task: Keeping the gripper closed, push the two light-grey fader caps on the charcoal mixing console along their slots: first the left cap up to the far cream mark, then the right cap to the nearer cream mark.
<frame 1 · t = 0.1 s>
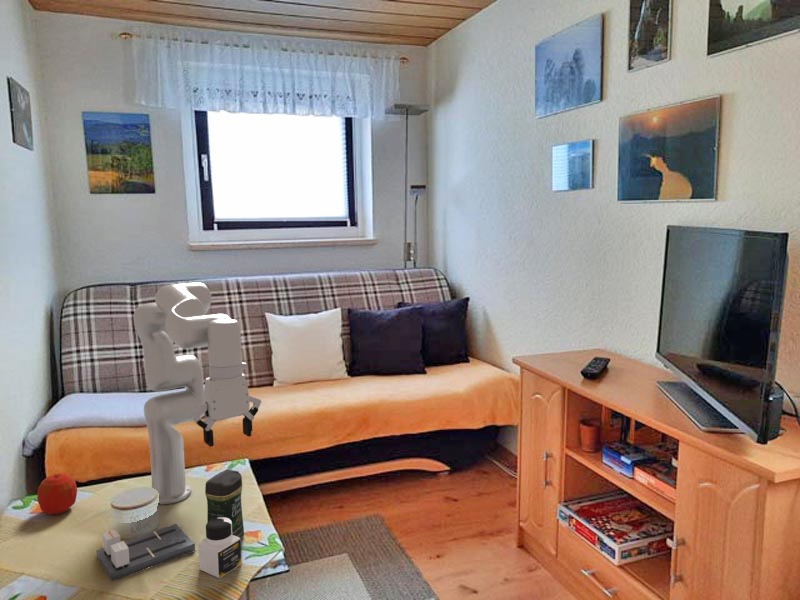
hand: (228, 439, 145), 31 cm above the table, tool pointing down, fingers open, 9 cm apart
fader B: (119, 554, 144), point 4 cm above the table, slide at 0.0 cm
apple: (58, 511, 173), on the table
fader A: (111, 542, 149), point 4 cm above the table, slide at 0.0 cm
coffee jar: (226, 542, 157), on the table
medicine bottle: (220, 568, 146), on the table
console: (146, 554, 151), on the table
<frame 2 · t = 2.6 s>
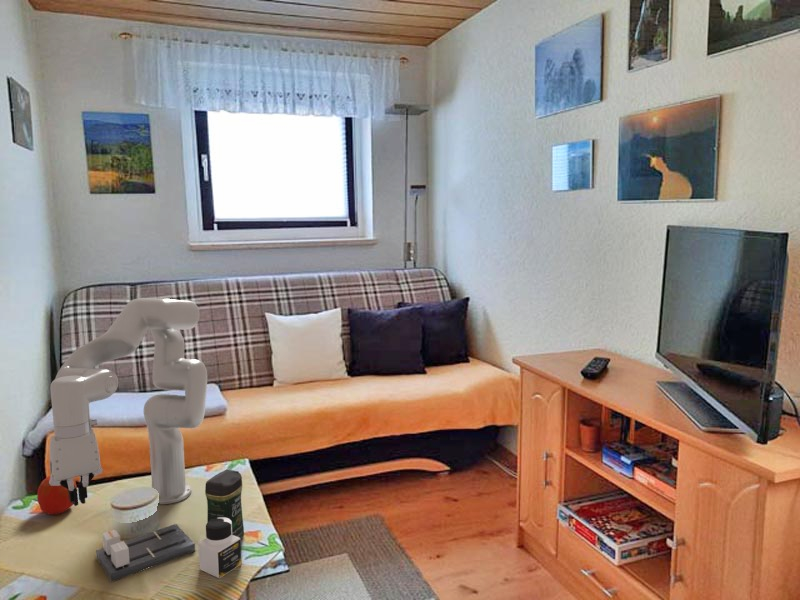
hand: (78, 502, 143), 17 cm above the table, tool pointing down, fingers closed
nothing on the table moved.
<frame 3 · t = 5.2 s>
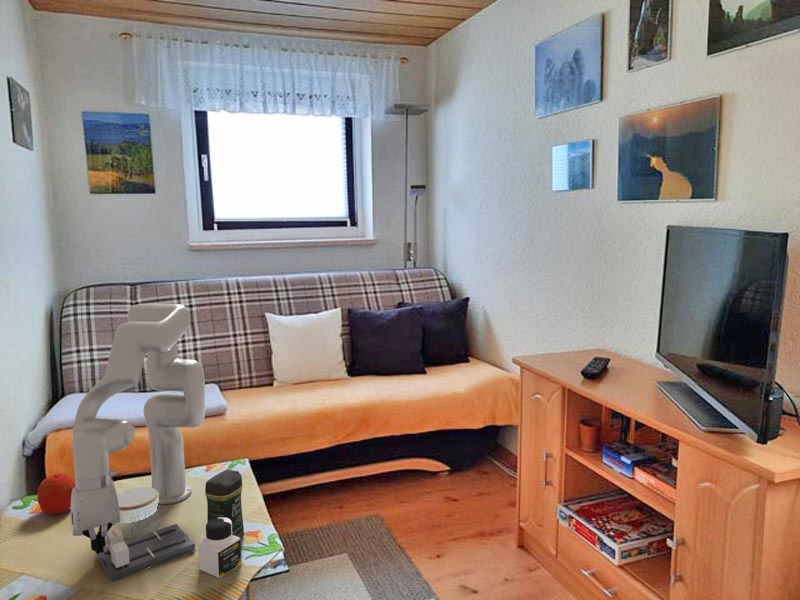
hand: (98, 550, 147), 3 cm above the table, tool pointing down, fingers closed
fader A: (115, 540, 149), point 4 cm above the table, slide at 0.8 cm, touching gripper
everything else where it was.
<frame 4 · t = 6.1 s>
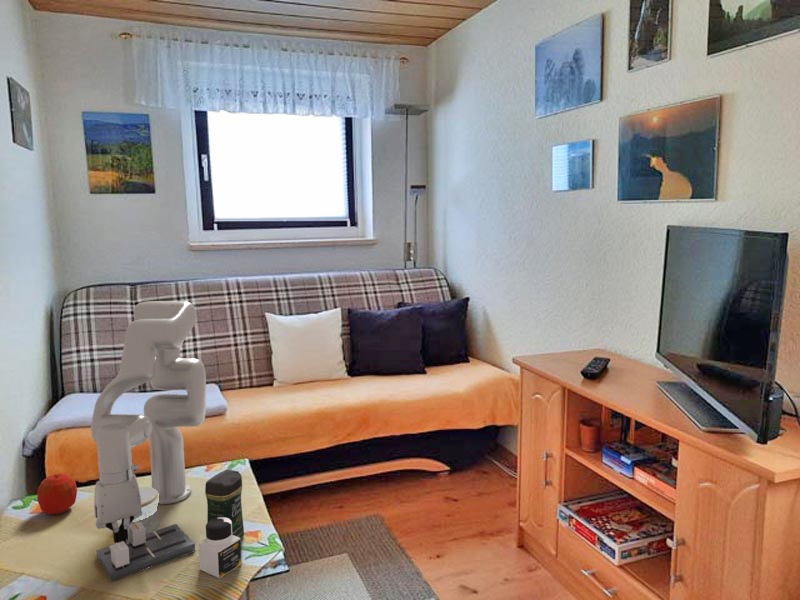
hand: (121, 543, 151), 3 cm above the table, tool pointing down, fingers closed
fader A: (136, 533, 153), point 4 cm above the table, slide at 6.0 cm, touching gripper
everything else where it was.
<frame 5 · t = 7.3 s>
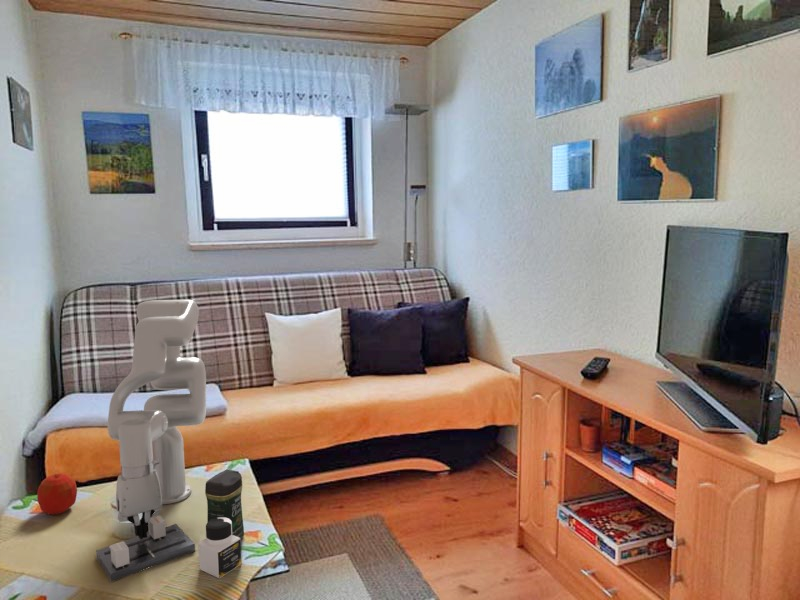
hand: (142, 536, 154), 3 cm above the table, tool pointing down, fingers closed
fader A: (156, 527, 156), point 4 cm above the table, slide at 11.1 cm, touching gripper
everything else where it was.
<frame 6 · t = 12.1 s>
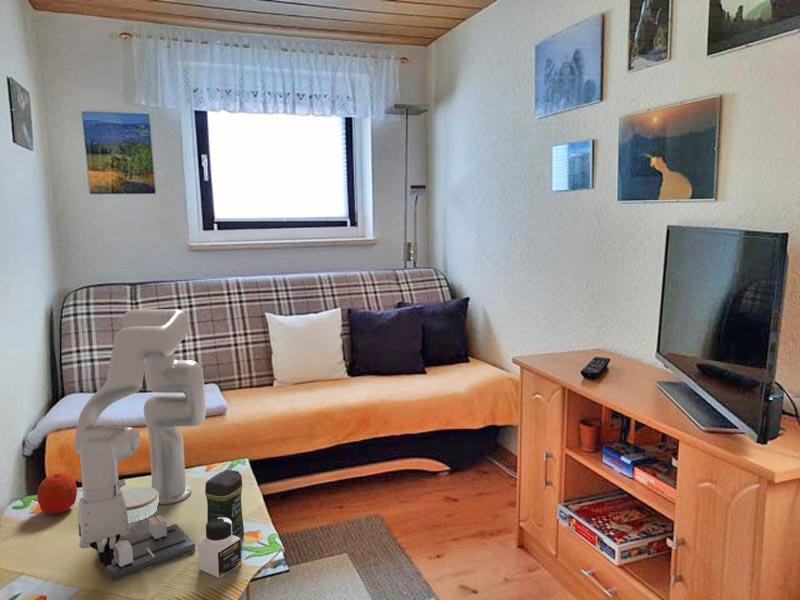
hand: (106, 563, 142), 3 cm above the table, tool pointing down, fingers closed
fader B: (123, 552, 144), point 4 cm above the table, slide at 0.8 cm, touching gripper
fader A: (157, 526, 156), point 4 cm above the table, slide at 11.3 cm
everything else where it was.
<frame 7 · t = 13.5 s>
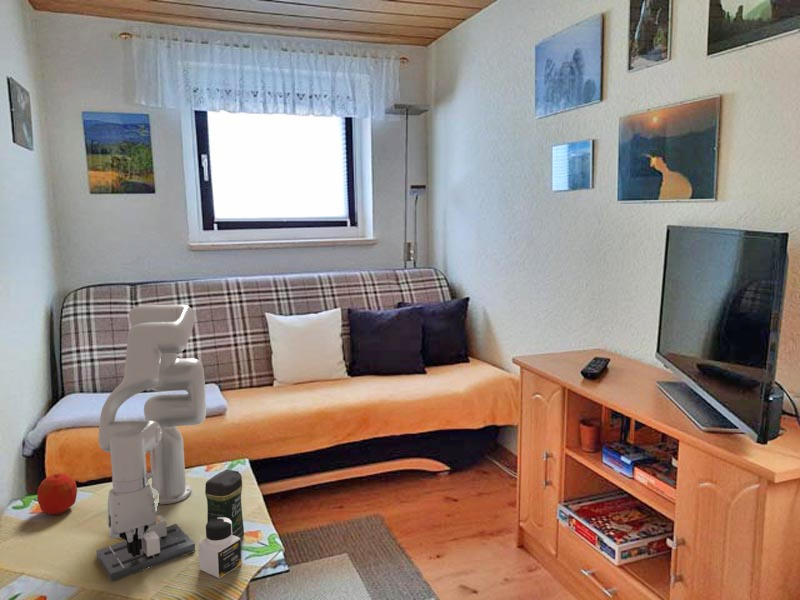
hand: (135, 553, 146), 3 cm above the table, tool pointing down, fingers closed
fader B: (150, 543, 148), point 4 cm above the table, slide at 7.2 cm, touching gripper
everything else where it was.
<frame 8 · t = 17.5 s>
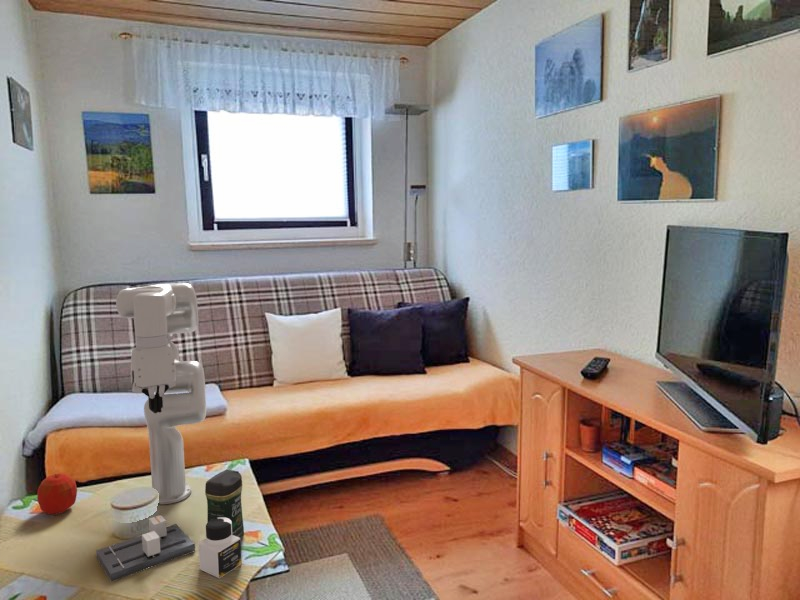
hand: (156, 411, 154), 35 cm above the table, tool pointing down, fingers closed
fader B: (151, 543, 148), point 4 cm above the table, slide at 7.3 cm
everything else where it was.
at the end: fader A slide at 11.3 cm; fader B slide at 7.3 cm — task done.
